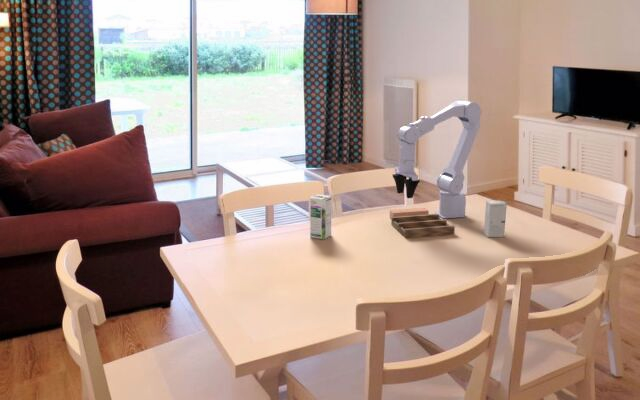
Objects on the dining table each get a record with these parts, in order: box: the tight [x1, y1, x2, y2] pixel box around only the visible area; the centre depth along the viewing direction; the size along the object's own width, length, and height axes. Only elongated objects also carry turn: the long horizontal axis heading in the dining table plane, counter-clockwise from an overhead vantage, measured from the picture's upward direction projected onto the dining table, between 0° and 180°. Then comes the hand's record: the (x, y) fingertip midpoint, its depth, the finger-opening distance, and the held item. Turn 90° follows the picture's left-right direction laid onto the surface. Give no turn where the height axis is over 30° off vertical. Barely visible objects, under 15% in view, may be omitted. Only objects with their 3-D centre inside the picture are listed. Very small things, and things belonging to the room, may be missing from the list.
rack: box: [390, 213, 455, 239], centre depth 235 cm, size 18×16×3 cm
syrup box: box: [309, 193, 332, 241], centre depth 227 cm, size 6×6×14 cm
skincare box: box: [483, 200, 508, 238], centre depth 227 cm, size 6×4×12 cm
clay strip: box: [389, 207, 430, 220], centre depth 248 cm, size 14×4×4 cm, turn 101°
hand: (405, 195), depth 243 cm, fingers open, 7 cm apart
